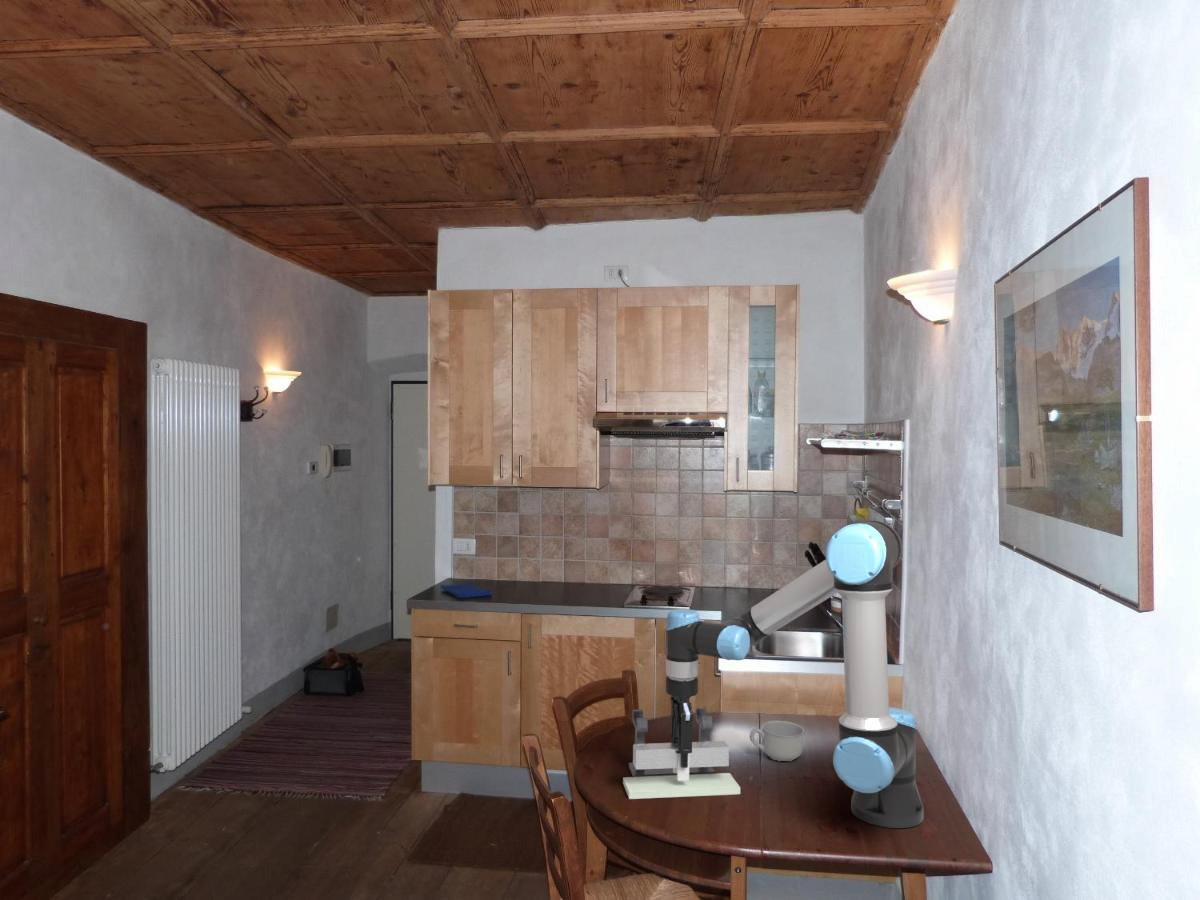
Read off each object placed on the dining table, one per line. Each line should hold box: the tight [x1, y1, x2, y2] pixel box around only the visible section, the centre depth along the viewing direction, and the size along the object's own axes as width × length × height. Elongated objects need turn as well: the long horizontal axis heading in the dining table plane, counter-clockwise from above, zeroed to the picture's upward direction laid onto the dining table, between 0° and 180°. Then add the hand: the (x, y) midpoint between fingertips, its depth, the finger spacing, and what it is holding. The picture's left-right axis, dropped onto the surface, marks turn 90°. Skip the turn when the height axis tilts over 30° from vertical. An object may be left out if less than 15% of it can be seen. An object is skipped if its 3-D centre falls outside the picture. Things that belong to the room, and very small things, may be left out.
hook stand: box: [628, 707, 717, 777], centre depth 218 cm, size 8×20×14 cm, turn 97°
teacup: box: [749, 720, 805, 762], centre depth 228 cm, size 14×11×8 cm
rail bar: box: [632, 740, 730, 770], centre depth 207 cm, size 4×22×4 cm, turn 97°
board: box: [622, 772, 741, 800], centre depth 207 cm, size 9×26×2 cm, turn 97°
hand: (680, 775), depth 207 cm, fingers closed on rail bar, 4 cm apart
